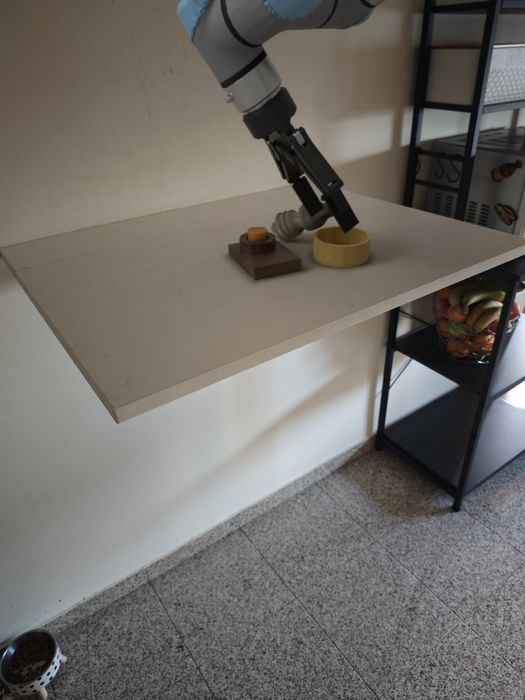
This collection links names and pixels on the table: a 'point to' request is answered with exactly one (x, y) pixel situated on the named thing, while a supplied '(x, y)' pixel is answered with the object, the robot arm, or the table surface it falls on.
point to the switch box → (264, 257)
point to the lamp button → (257, 234)
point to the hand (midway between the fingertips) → (333, 219)
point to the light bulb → (298, 222)
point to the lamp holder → (341, 246)
